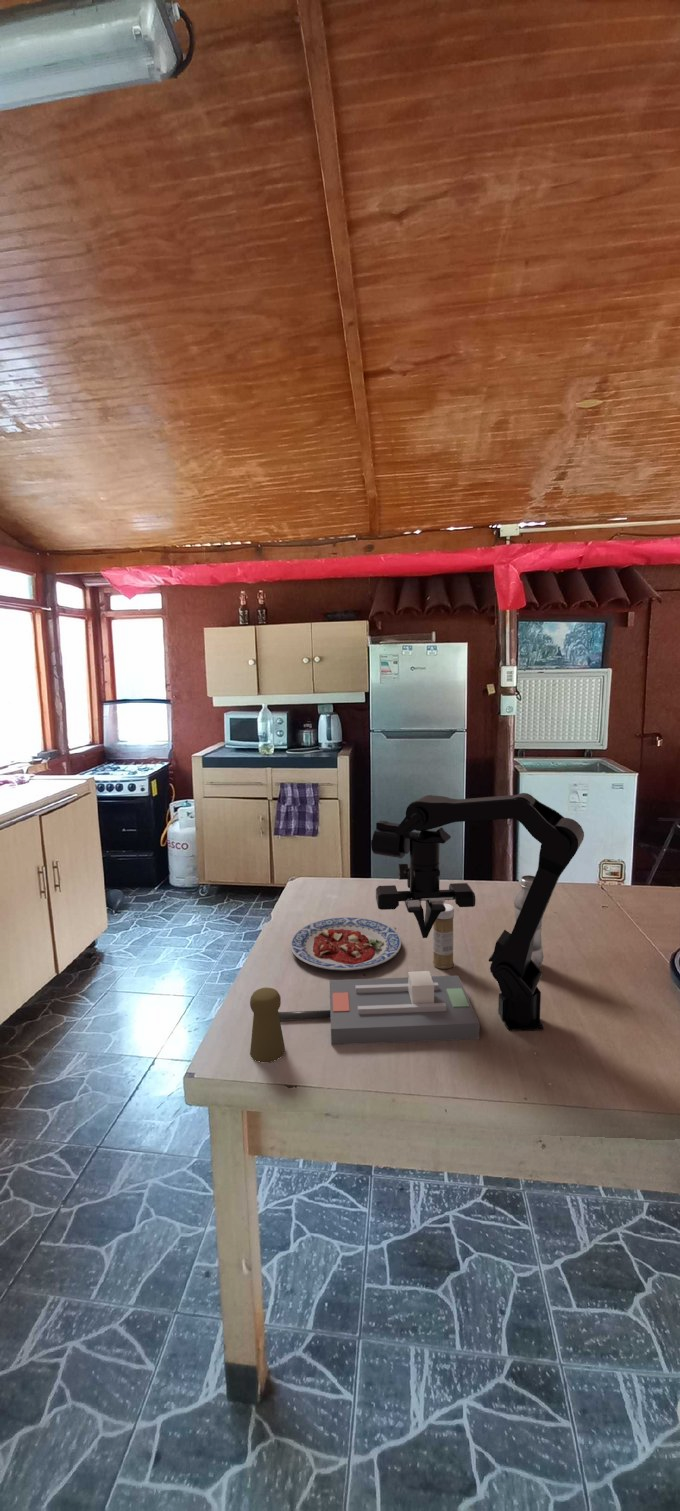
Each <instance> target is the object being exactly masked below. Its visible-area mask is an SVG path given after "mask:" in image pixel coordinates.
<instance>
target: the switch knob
mask: <svg viewBox="0 0 680 1511" xmlns="http://www.w3.org/2000/svg"><path fill="white" fill-rule="evenodd" d="M431 975H432V974H431V972H430V971H429V970H424V971H423V970H420V971H418V970H416V971H415V970H414V971H408V972H407V976H408V992H409V995H410V999H411V1003H412V1004H428V1003H434V983H433V981H432V978H431V977H432V976H431Z"/></svg>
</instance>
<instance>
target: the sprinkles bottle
mask: <svg viewBox="0 0 680 1511" xmlns="http://www.w3.org/2000/svg"><path fill="white" fill-rule="evenodd" d="M444 906H445V908H446V911H444V912H441V913H440V914H439V916H438V917H437V919H436V920H435V922H434V924H433V926H432V936H433V937H432V950H433V958H432V959H433V960H432V964H433V965H434V967H436V968H437V969H441V970H447V969H448V970H449V969H451V968H453V966H454V965H455V964H454V917H455V908H454V906H453V905H451V904H449V903H445V902H444Z"/></svg>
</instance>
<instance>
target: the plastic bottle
mask: <svg viewBox="0 0 680 1511" xmlns="http://www.w3.org/2000/svg"><path fill="white" fill-rule="evenodd" d="M534 877H535V875H531V874H530V875H526V874H525V875H522V876H521V877H520V878H521V879H520V890H518V892H517V893H516V894H515V897H514V899H513V905H514V906H513V907H514V917H515V922H516V921H517V919H518V916H519V914H520V911H521V909H522V906H523V904H524V902H525V899H526V897H527V894H528V892H529V889H530V887H531V885H532V882H533V880H534ZM543 918H544V916H543V917H542V919H541V921H540V924H539V926H538V928H537V931H536V933H535V936H534V942H533V951H532V956H531V960H532V961H533V962H534V963H535V964H536V965H537V966H538V968H539V969H540V967H541V966H542V965H543V962H544V950H543V949H544V948H543V944H542V942H543V940H542V927H543Z"/></svg>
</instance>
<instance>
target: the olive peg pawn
mask: <svg viewBox="0 0 680 1511" xmlns="http://www.w3.org/2000/svg"><path fill="white" fill-rule="evenodd" d="M281 1004H282V1000H281V995H280V993H279V991H278V990H277V989H275V988H272V987H262V988H259V989H256V990H255V991H253V993H252V995H251V996H250V999H249V1007H250V1010H251V1011H252V1013H253V1016H252V1019H253V1020H252V1028H251V1040H250V1051H249V1055H250V1058H251V1057H252V1058H253V1059H252V1058H251V1059H252V1060H254V1061H255V1060H256V1061H255V1062H257V1061H260V1062H259V1063H261V1062H269V1063H272V1062H271V1061H273V1062H275V1061H274V1060H276V1061H278V1060H279V1059H278V1058H280V1057H281V1056H282V1057H283V1056H284V1055H283V1054H285V1053H286V1046H285V1040H284V1035H283V1031H282V1030H283V1029H282V1025H281V1020H280V1018H279V1013H278V1012H279V1010H280V1008H281ZM284 1052H285V1053H284ZM282 1057H281V1058H282ZM281 1058H280V1059H281ZM277 1059H278V1060H277Z"/></svg>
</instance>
